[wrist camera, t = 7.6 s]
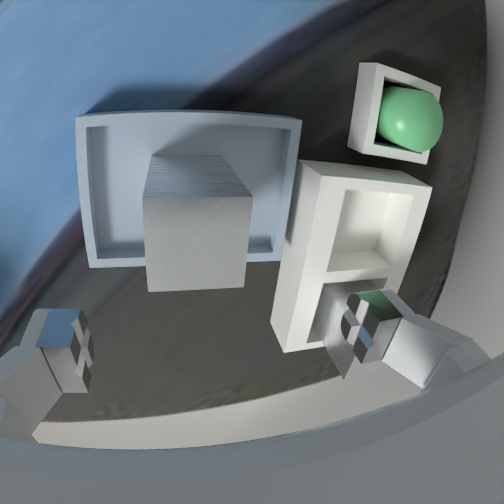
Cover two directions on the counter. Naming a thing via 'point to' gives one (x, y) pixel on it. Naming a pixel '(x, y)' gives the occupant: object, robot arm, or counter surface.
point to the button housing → (369, 107)
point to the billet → (195, 223)
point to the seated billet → (330, 327)
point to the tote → (179, 143)
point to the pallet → (343, 238)
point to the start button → (410, 118)
